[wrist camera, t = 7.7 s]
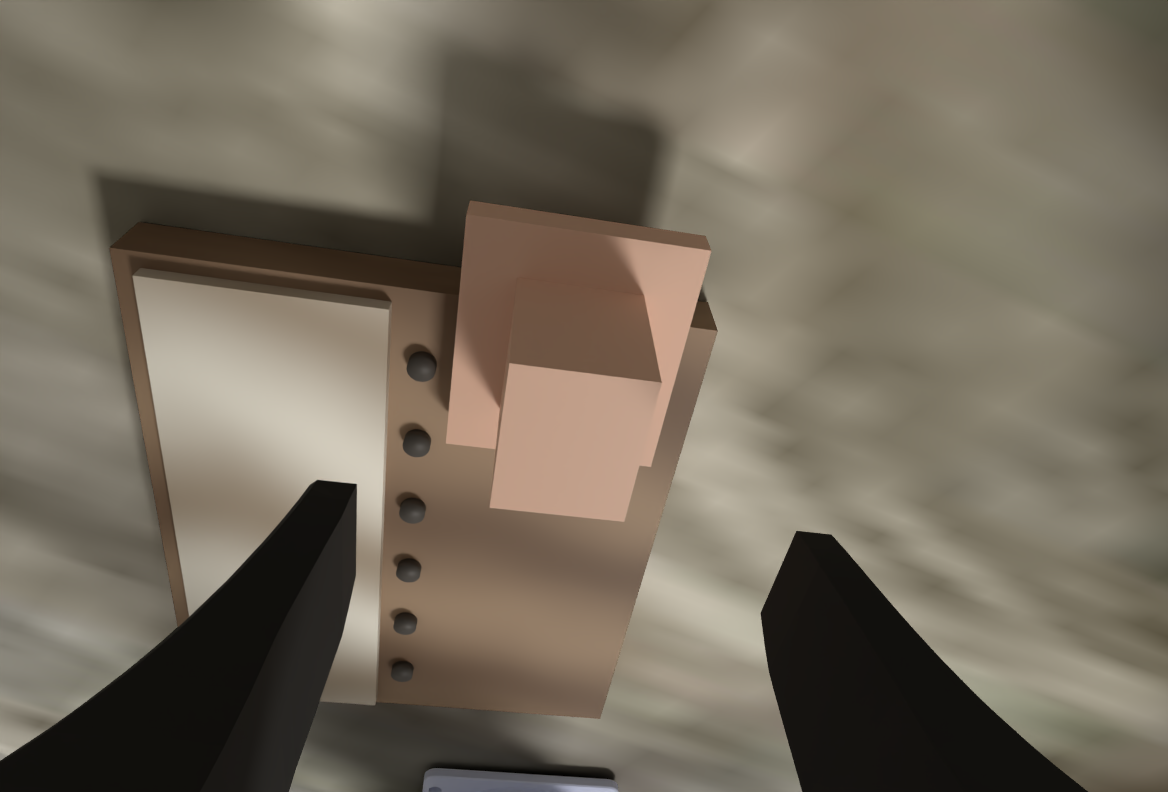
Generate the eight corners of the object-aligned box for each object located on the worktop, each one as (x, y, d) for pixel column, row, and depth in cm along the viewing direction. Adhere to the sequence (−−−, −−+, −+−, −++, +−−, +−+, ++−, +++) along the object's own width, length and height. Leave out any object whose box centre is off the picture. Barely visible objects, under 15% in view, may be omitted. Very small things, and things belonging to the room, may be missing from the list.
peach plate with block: (647, 447, 21) (666, 569, 17) (449, 424, 20) (426, 545, 16) (705, 236, 17) (743, 332, 14) (470, 200, 17) (446, 291, 13)
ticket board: (597, 682, 29) (600, 729, 28) (205, 650, 27) (184, 698, 26) (707, 302, 20) (720, 339, 19) (139, 222, 19) (100, 255, 17)
